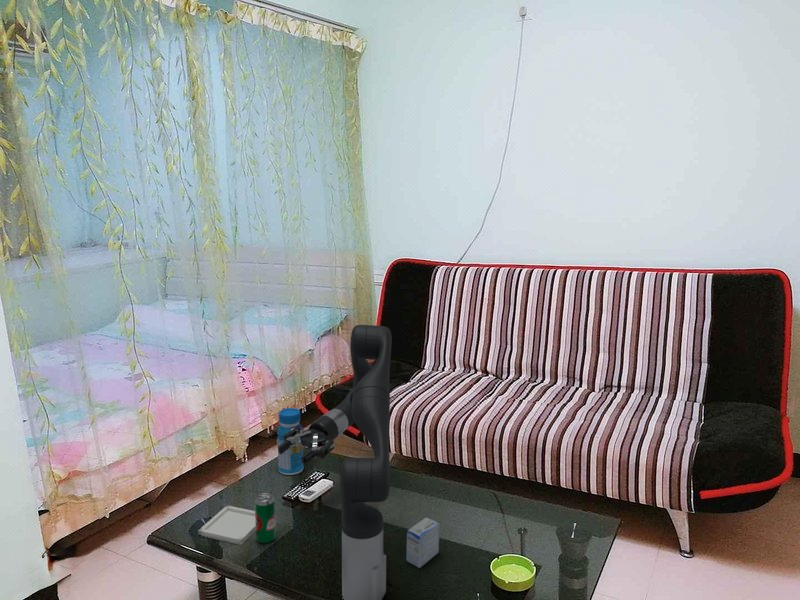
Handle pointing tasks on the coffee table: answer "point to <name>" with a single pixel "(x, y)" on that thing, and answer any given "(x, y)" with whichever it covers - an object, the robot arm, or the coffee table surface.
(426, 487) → the coffee table surface
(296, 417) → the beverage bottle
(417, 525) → the medicine box
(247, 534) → the tray
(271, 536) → the soda can
